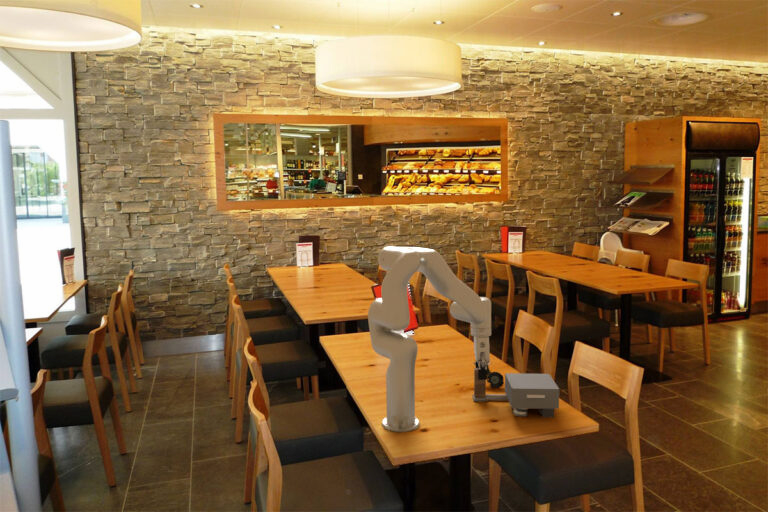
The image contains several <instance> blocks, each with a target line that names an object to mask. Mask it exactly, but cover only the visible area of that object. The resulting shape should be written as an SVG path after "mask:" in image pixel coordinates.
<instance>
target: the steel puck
mask: <svg viewBox="0 0 768 512" xmlns="http://www.w3.org/2000/svg"><path fill="white" fill-rule="evenodd" d="M512 409H513V410H512V411H513V415H514V416H516V417H519V418H521V417H527V416H529V408H512Z"/></svg>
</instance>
